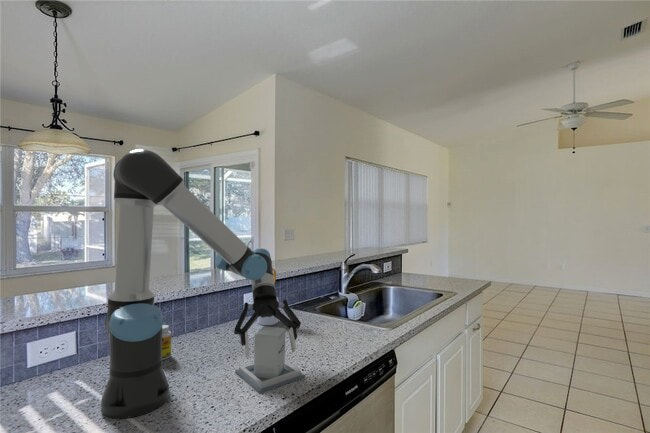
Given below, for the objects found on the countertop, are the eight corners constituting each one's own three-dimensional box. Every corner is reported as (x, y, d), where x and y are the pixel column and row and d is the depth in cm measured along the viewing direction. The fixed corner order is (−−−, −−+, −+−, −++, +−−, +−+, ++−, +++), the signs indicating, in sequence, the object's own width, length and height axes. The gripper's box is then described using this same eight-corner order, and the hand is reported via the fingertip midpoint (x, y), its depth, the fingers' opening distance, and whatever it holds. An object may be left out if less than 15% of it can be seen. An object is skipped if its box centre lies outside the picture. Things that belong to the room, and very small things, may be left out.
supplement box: (277, 380, 100) (278, 336, 99) (253, 377, 101) (253, 333, 101) (285, 368, 107) (286, 327, 107) (262, 366, 108) (263, 325, 108)
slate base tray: (259, 393, 93) (259, 386, 93) (235, 372, 105) (235, 366, 105) (304, 377, 103) (304, 371, 103) (278, 359, 114) (278, 354, 114)
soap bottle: (256, 320, 155) (256, 265, 155) (276, 318, 158) (277, 264, 158) (258, 326, 147) (259, 268, 146) (280, 324, 149) (280, 267, 149)
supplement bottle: (152, 362, 111) (152, 330, 111) (152, 355, 116) (152, 325, 116) (171, 359, 114) (172, 328, 113) (170, 352, 119) (170, 323, 118)
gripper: (298, 294, 122) (309, 353, 108) (224, 298, 114) (226, 363, 100) (302, 281, 117) (314, 342, 103) (225, 285, 109) (227, 352, 95)
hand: (271, 352), depth 102 cm, fingers open, 13 cm apart
